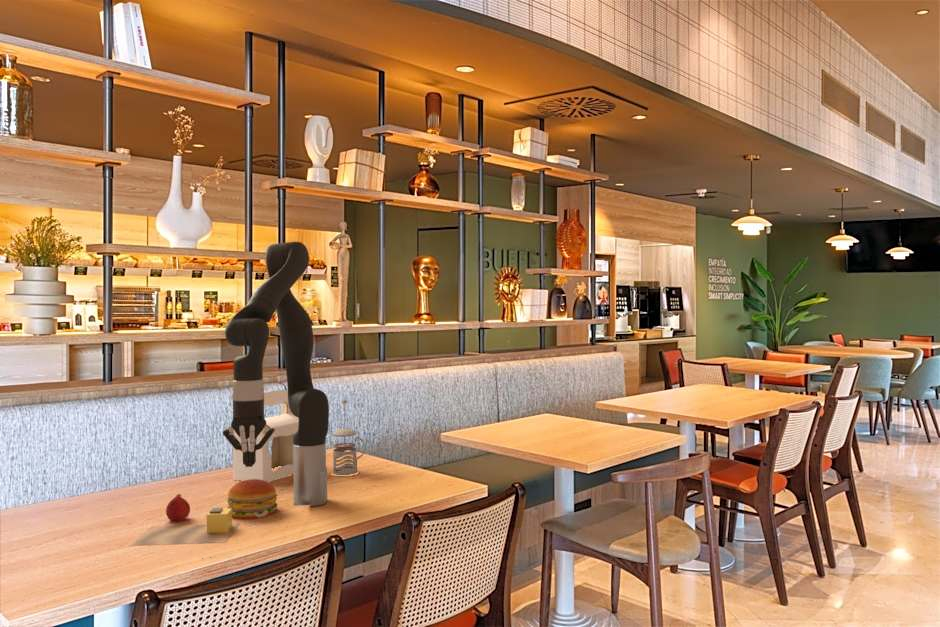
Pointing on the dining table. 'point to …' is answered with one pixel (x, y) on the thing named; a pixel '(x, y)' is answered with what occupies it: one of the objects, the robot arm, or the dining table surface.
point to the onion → (178, 509)
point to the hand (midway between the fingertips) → (249, 466)
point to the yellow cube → (219, 520)
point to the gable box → (280, 446)
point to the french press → (342, 447)
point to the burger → (252, 499)
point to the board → (182, 535)
